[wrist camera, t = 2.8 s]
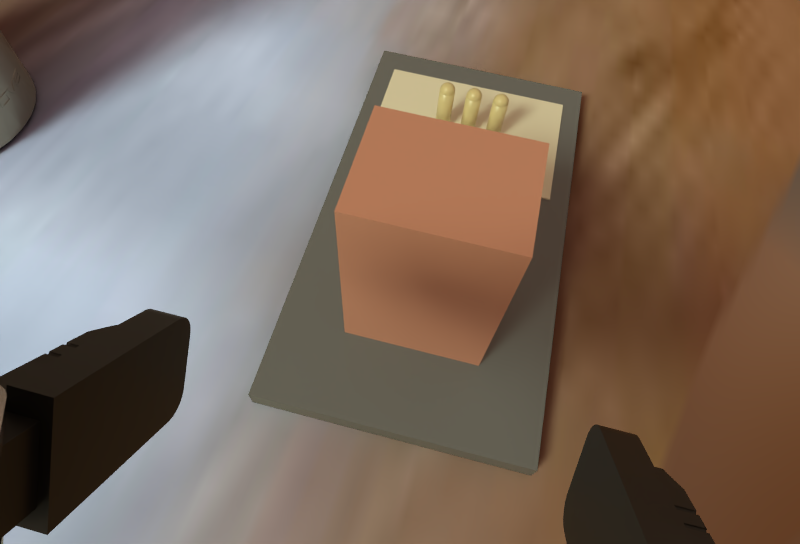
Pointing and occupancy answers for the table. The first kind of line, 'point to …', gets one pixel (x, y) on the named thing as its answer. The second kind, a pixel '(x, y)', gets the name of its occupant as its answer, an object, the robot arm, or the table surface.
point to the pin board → (415, 370)
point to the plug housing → (436, 231)
